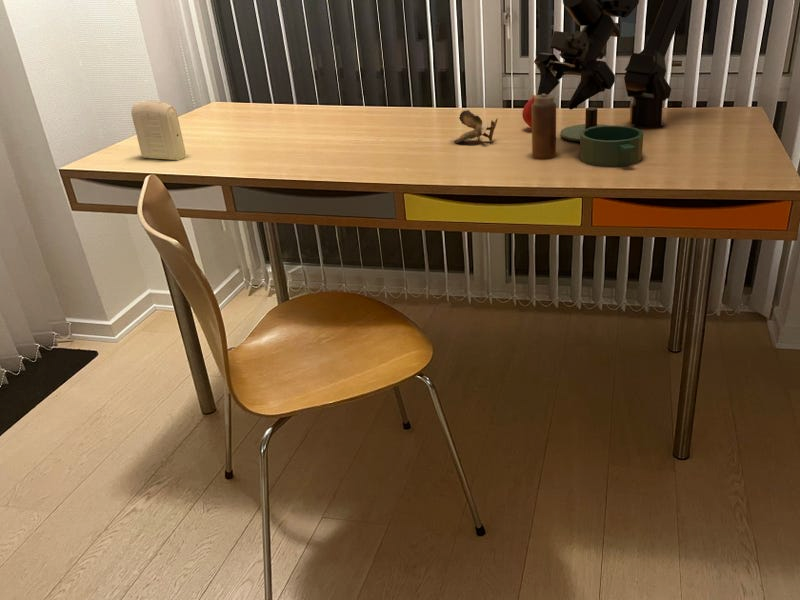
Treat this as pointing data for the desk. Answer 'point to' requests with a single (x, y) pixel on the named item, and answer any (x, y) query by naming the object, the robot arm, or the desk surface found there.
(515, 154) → the desk surface
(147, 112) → the photo printer
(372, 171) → the desk surface
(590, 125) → the lid
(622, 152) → the pot
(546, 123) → the pepper mill
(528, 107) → the onion
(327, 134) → the desk surface
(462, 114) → the eagle figurine
